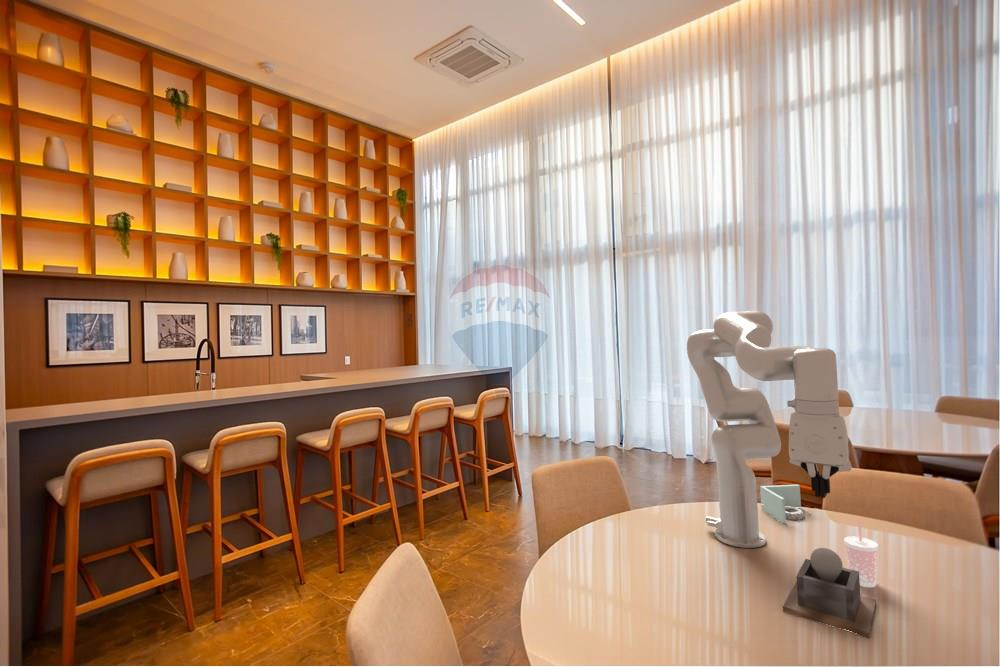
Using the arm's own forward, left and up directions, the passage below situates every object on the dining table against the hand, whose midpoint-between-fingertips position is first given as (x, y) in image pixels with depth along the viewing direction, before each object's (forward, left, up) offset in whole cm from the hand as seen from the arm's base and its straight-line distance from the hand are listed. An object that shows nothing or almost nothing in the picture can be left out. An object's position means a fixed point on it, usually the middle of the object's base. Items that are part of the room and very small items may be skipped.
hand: (821, 495), depth 97 cm
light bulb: (0, 0, -21) cm, 21 cm away
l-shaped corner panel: (-17, +50, -23) cm, 58 cm away
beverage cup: (+4, +16, -23) cm, 28 cm away
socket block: (0, 0, -23) cm, 23 cm away
